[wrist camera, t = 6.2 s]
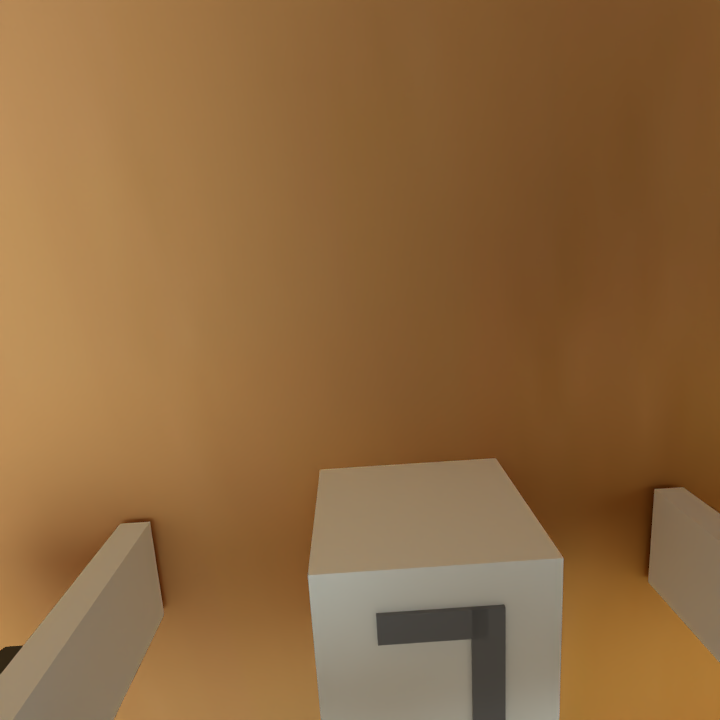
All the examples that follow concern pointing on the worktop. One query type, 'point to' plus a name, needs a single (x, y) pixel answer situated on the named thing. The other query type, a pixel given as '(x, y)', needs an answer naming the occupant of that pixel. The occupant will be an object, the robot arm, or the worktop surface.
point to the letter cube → (433, 596)
